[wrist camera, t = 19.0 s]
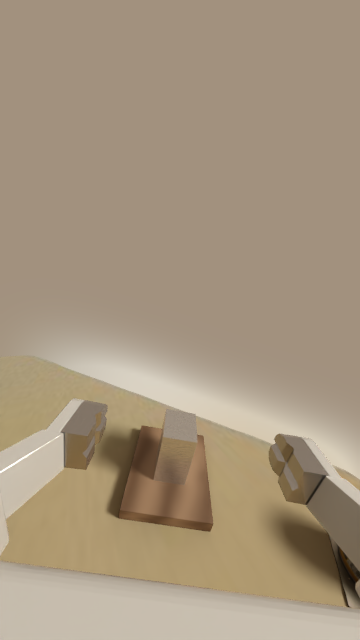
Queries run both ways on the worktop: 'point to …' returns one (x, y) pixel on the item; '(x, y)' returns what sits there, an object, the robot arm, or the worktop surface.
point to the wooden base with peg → (166, 489)
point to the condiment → (347, 575)
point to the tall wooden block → (176, 447)
